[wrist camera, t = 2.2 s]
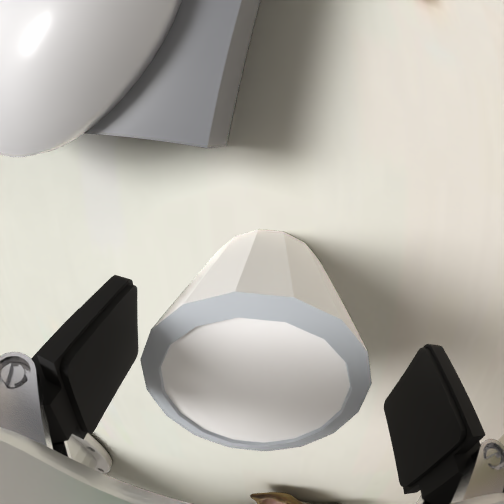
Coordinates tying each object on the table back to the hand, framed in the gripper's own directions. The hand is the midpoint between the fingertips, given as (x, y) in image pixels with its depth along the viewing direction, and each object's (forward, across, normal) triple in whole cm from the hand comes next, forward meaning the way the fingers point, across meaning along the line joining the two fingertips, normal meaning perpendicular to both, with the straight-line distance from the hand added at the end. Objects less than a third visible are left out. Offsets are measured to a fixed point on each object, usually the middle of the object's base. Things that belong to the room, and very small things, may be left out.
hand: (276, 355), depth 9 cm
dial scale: (+6, +12, -12) cm, 18 cm away
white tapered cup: (+6, +1, +1) cm, 6 cm away
